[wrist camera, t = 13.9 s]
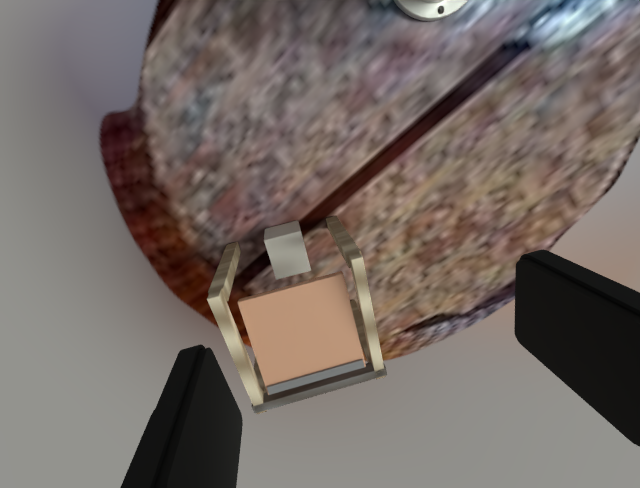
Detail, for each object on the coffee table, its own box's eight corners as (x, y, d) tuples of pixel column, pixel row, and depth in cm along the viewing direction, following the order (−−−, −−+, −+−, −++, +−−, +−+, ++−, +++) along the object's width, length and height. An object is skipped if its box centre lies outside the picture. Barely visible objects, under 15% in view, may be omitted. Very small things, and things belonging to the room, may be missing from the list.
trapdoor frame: (226, 244, 45) (205, 299, 31) (336, 215, 46) (364, 256, 32) (260, 334, 51) (255, 414, 37) (356, 307, 52) (387, 376, 38)
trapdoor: (239, 299, 35) (237, 303, 33) (341, 271, 35) (343, 274, 34) (268, 389, 37) (268, 396, 36) (364, 362, 38) (366, 368, 37)
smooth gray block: (275, 264, 47) (264, 228, 45) (307, 256, 48) (297, 220, 45) (276, 279, 43) (263, 240, 41) (311, 270, 43) (300, 231, 41)
